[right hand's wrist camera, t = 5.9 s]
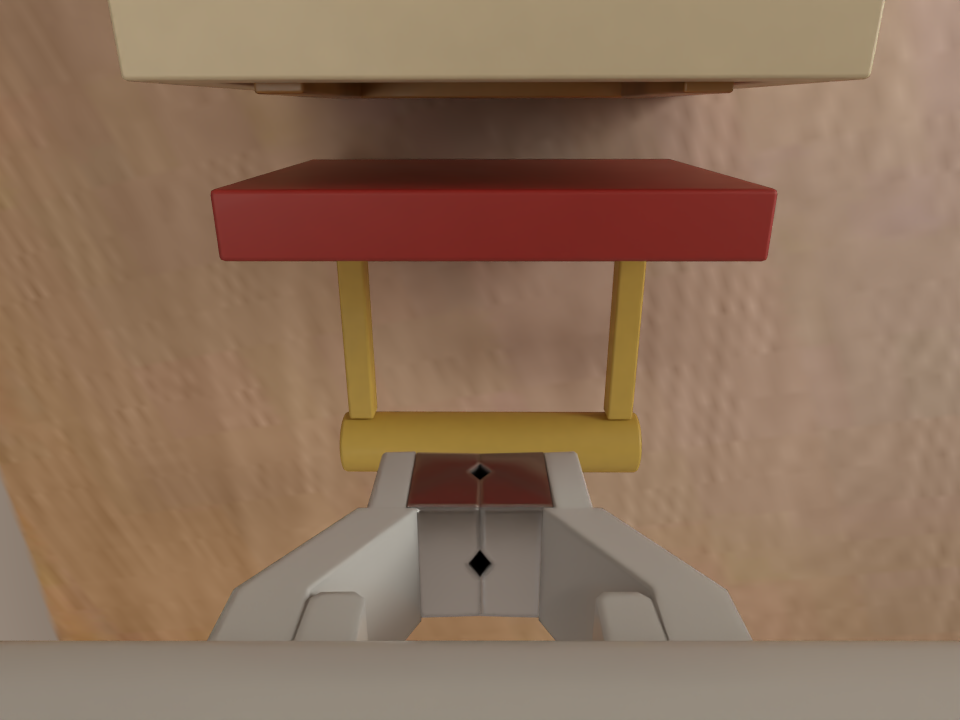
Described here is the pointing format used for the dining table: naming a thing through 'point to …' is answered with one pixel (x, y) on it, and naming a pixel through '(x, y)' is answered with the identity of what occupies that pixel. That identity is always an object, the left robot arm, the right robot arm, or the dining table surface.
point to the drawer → (493, 252)
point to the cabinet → (494, 41)
